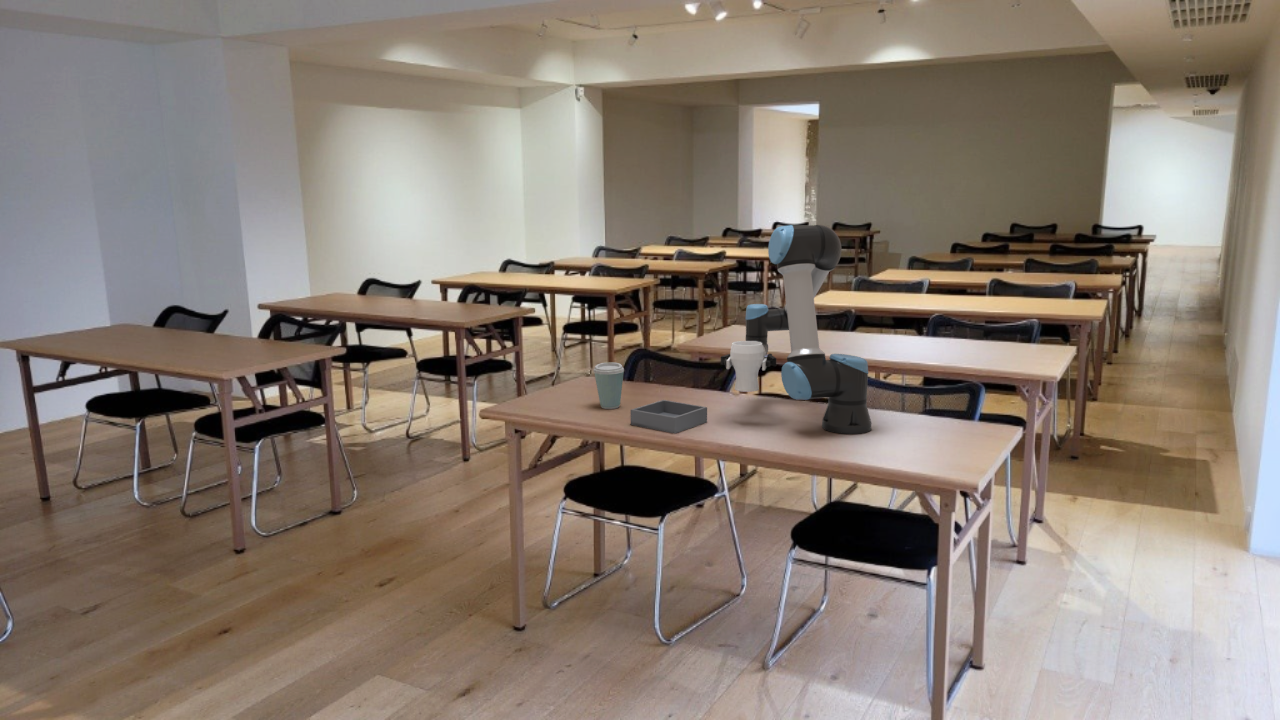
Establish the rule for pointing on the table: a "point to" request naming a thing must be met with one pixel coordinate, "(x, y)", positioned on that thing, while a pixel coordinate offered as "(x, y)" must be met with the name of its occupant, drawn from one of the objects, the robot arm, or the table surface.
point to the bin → (668, 416)
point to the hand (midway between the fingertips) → (745, 365)
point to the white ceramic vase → (747, 364)
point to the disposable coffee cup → (609, 384)
